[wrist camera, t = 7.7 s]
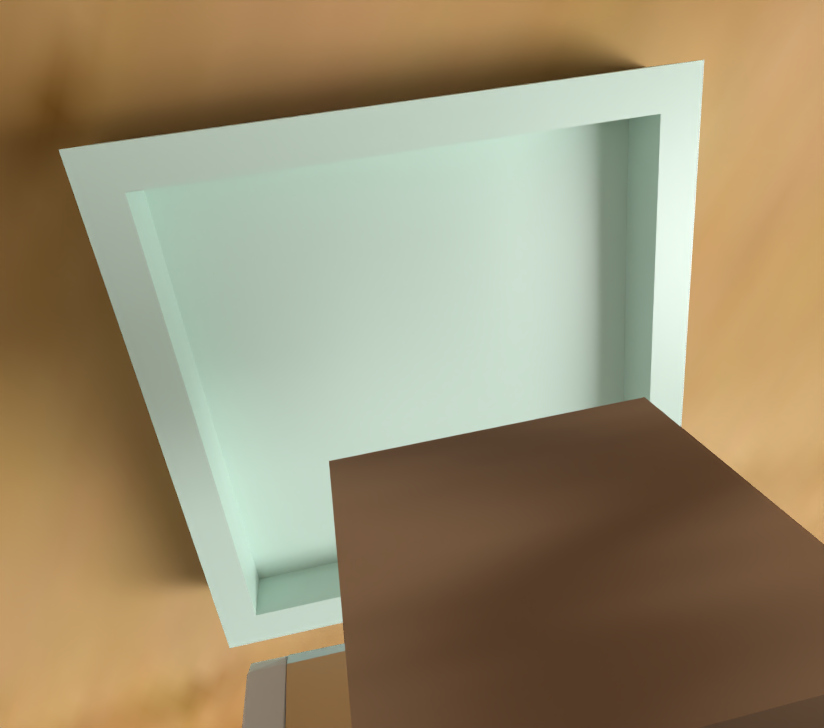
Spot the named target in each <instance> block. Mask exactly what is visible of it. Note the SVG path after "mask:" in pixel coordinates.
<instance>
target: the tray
mask: <svg viewBox="0 0 824 728" xmlns="http://www.w3.org/2000/svg"><path fill="white" fill-rule="evenodd" d="M703 71H704V60H700V61H692V62H683V63H675V64H667V65H659V66H651V67H643V68H636V69H629V70H621V71H614V72H607V73H600V74H593V75H585V76H578V77H571V78H564V79H557V80H549V81H542V82H535V83H528V84H521V85H513V86H506V87H499V88H492V89H485V90H477V91H470V92H463V93H456V94H449V95H441V96H434V97H427V98H420V99H413V100H405V101H398V102H391V103H384V104H377V105H369V106H362V107H355V108H348V109H341V110H333V111H326V112H319V113H312V114H305V115H297V116H290V117H283V118H276V119H269V120H261V121H254V122H247V123H240V124H233V125H225V126H218V127H211V128H204V129H197V130H189V131H182V132H175V133H168V134H161V135H153V136H146V137H139V138H132V139H125V140H117V141H110V142H103V143H96V144H90V145H84V146H78V147H72V148H66V149H60V150H59V152H60V155H61V158H62V161H63V164H64V167H65V170H66V173H67V176H68V179H69V181H70V184H71V187H72V190H73V193H74V196H75V199H76V202H77V205H78V208H79V211H80V213H81V216H82V219H83V222H84V225H85V228H86V231H87V234H88V237H89V240H90V243H91V245H92V248H93V251H94V254H95V257H96V260H97V263H98V266H99V269H100V272H101V275H102V278H103V280H104V283H105V286H106V289H107V292H108V295H109V298H110V301H111V304H112V307H113V310H114V312H115V315H116V318H117V321H118V324H119V327H120V330H121V333H122V336H123V339H124V342H125V344H126V347H127V350H128V353H129V356H130V359H131V362H132V365H133V368H134V371H135V374H136V376H137V379H138V382H139V385H140V388H141V391H142V394H143V397H144V400H145V403H146V406H147V408H148V411H149V414H150V417H151V420H152V423H153V426H154V429H155V432H156V435H157V438H158V441H159V443H160V446H161V449H162V452H163V455H164V458H165V461H166V464H167V467H168V470H169V473H170V475H171V478H172V481H173V484H174V487H175V490H176V493H177V496H178V499H179V502H180V505H181V507H182V510H183V513H184V516H185V519H186V522H187V525H188V528H189V531H190V534H191V537H192V539H193V542H194V545H195V548H196V551H197V554H198V557H199V560H200V563H201V566H202V569H203V571H204V574H205V577H206V580H207V583H208V586H209V589H210V592H211V595H212V598H213V601H214V604H215V606H216V609H217V612H218V615H219V618H220V621H221V624H222V627H223V630H224V633H225V636H226V638H227V641H228V644H229V647H230V648H232V647H237V646H241V645H246V644H250V643H255V642H259V641H263V640H268V639H272V638H277V637H281V636H285V635H290V634H294V633H299V632H303V631H308V630H312V629H316V628H321V627H325V626H330V625H334V624H338V623H343V619H342V607H341V596H340V584H339V572H338V561H337V549H336V538H335V526H334V515H333V503H332V491H331V480H330V468H329V461H332V460H336V459H341V458H346V457H351V456H356V455H361V454H366V453H371V452H376V451H381V450H386V449H391V448H396V447H401V446H406V445H411V444H415V443H420V442H425V441H430V440H435V439H440V438H445V437H450V436H455V435H460V434H465V433H470V432H475V431H480V430H485V429H489V428H494V427H499V426H504V425H509V424H514V423H519V422H524V421H529V420H534V419H539V418H544V417H549V416H554V415H559V414H564V413H568V412H573V411H578V410H583V409H588V408H593V407H598V406H603V405H608V404H613V403H618V402H623V401H628V400H633V399H638V398H642V397H645V398H646V399H648V400H649V401H650V402H651V403H652V404H654V405H655V406H656V407H657V408H659V409H660V410H661V411H662V412H663V413H665V414H666V415H667V416H668V417H669V418H671V419H672V420H673V421H674V422H676V423H677V424H678V425H679V426H680V427H681V422H682V406H683V390H684V374H685V358H686V342H687V326H688V310H689V294H690V278H691V262H692V247H693V231H694V215H695V199H696V183H697V167H698V151H699V135H700V119H701V103H702V87H703Z"/></svg>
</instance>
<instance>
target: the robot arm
mask: <svg viewBox="0 0 824 728" xmlns="http://www.w3.org/2000/svg"><path fill="white" fill-rule="evenodd" d="M242 728H352V723H351V711H350V700H349V688H348V677H347V665H346V653H345V644H340V645H335V646H330V647H325V648H321V649H316V650H311V651H306V652H301V653H297V654H292V655H289V656H285V657H281V658H276V659H271V660H266V661H262V662H257V663H252V664H251V666H250V669H249V671H248V674H247V681H246V692H245V703H244V714H243V724H242Z"/></svg>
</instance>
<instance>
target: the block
mask: <svg viewBox="0 0 824 728" xmlns="http://www.w3.org/2000/svg"><path fill="white" fill-rule="evenodd" d="M329 468H330V480H331V491H332V503H333V515H334V526H335V538H336V549H337V561H338V572H339V584H340V596H341V607H342V619H343V630H344V642H345V653H346V665H347V677H348V688H349V700H350V711H351V723H352V728H824V544H823V543H822V542H820V541H819V540H818V539H817V538H816V537H814V536H813V535H812V534H811V533H809V532H808V531H807V530H806V529H805V528H803V527H802V526H801V525H800V524H798V523H797V522H796V521H795V520H794V519H792V518H791V517H790V516H789V515H788V514H786V513H785V512H784V511H783V510H781V509H780V508H779V507H778V506H777V505H775V504H774V503H773V502H772V501H770V500H769V499H768V498H767V497H766V496H764V495H763V494H762V493H761V492H760V491H758V490H757V489H756V488H755V487H753V486H752V485H751V484H750V483H749V482H747V481H746V480H745V479H744V478H743V477H741V476H740V475H739V474H738V473H736V472H735V471H734V470H733V469H732V468H730V467H729V466H728V465H727V464H725V463H724V462H723V461H722V460H721V459H719V458H718V457H717V456H716V455H715V454H713V453H712V452H711V451H710V450H708V449H707V448H706V447H705V446H704V445H702V444H701V443H700V442H699V441H697V440H696V439H695V438H694V437H693V436H691V435H690V434H689V433H688V432H687V431H685V430H684V429H683V428H682V427H680V426H679V425H678V424H677V423H676V422H674V421H673V420H672V419H671V418H669V417H668V416H667V415H666V414H665V413H663V412H662V411H661V410H660V409H659V408H657V407H656V406H655V405H654V404H652V403H651V402H650V401H649V400H648V399H646V398H645V397H642V398H638V399H633V400H628V401H623V402H618V403H613V404H608V405H603V406H598V407H593V408H588V409H583V410H578V411H573V412H568V413H564V414H559V415H554V416H549V417H544V418H539V419H534V420H529V421H524V422H519V423H514V424H509V425H504V426H499V427H494V428H489V429H485V430H480V431H475V432H470V433H465V434H460V435H455V436H450V437H445V438H440V439H435V440H430V441H425V442H420V443H415V444H411V445H406V446H401V447H396V448H391V449H386V450H381V451H376V452H371V453H366V454H361V455H356V456H351V457H346V458H341V459H336V460H332V461H329Z"/></svg>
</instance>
